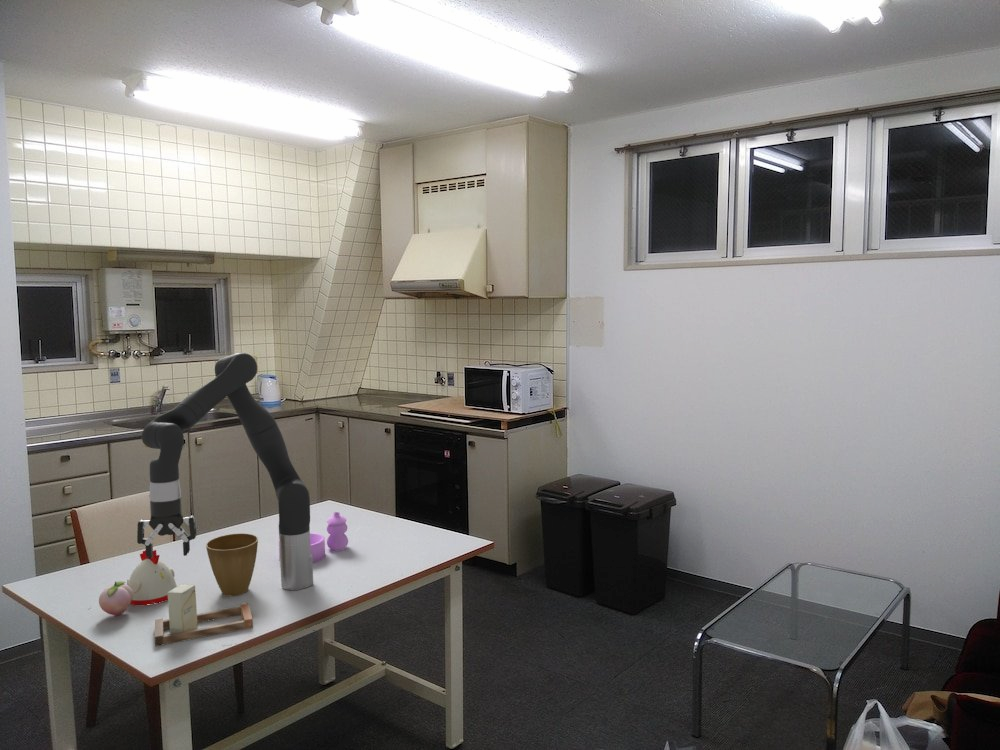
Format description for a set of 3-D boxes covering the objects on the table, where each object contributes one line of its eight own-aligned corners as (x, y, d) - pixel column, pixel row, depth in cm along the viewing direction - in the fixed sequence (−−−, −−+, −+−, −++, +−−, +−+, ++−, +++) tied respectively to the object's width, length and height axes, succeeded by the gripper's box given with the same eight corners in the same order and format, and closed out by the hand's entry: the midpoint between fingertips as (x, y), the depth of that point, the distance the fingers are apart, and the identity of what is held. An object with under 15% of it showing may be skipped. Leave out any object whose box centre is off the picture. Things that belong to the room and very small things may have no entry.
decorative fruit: (105, 610, 211) (103, 577, 210) (136, 607, 213) (134, 574, 212) (95, 624, 202) (93, 589, 201) (127, 621, 204) (125, 586, 203)
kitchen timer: (145, 609, 212) (142, 559, 210) (116, 600, 218) (112, 551, 217) (186, 592, 224) (184, 544, 222) (157, 584, 231) (154, 538, 229)
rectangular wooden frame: (248, 611, 209) (247, 603, 209) (252, 627, 199) (252, 618, 198) (155, 628, 199) (154, 619, 198) (155, 646, 188) (154, 636, 188)
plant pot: (205, 588, 226) (202, 538, 225) (255, 579, 234) (252, 530, 232) (212, 605, 213) (209, 552, 212) (265, 595, 221) (262, 543, 219)
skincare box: (184, 637, 193) (181, 593, 192) (169, 636, 194) (166, 592, 193) (198, 627, 199) (196, 584, 198) (183, 626, 200) (181, 583, 199)
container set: (291, 569, 242) (290, 530, 241) (272, 557, 254) (270, 520, 252) (357, 551, 259) (356, 515, 258) (336, 541, 270) (335, 506, 269)
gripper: (196, 491, 200) (198, 549, 201) (139, 495, 196) (141, 554, 197) (192, 498, 193) (194, 558, 194) (133, 502, 189) (136, 563, 190)
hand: (168, 556), depth 196 cm, fingers open, 8 cm apart
